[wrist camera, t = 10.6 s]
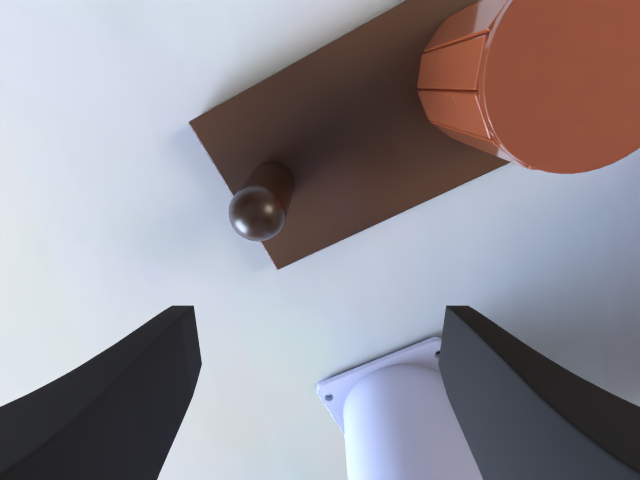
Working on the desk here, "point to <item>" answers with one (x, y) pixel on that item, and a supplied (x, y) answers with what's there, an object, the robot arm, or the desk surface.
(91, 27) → the desk surface
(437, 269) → the desk surface
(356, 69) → the rack
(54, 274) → the desk surface
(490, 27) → the cup
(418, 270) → the desk surface
